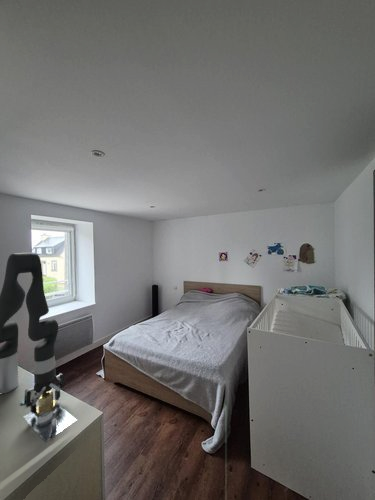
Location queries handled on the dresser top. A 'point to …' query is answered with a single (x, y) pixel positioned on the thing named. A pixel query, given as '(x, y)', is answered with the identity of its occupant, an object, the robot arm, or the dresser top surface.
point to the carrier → (50, 422)
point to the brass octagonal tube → (46, 402)
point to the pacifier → (30, 399)
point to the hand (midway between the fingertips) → (46, 405)
